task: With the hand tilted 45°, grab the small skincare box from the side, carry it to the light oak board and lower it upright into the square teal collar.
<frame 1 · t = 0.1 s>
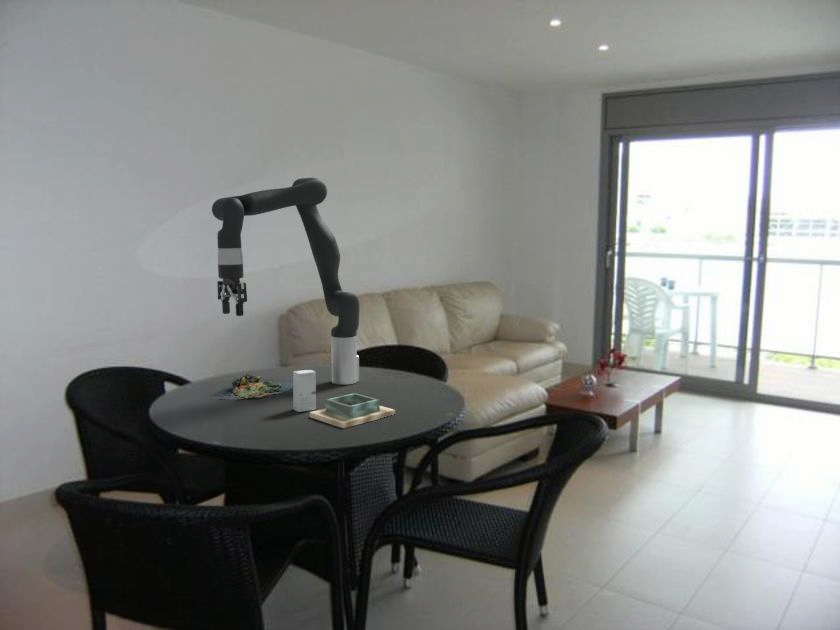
hand: (232, 314, 208), 29 cm above the table, tool pointing down, fingers open, 8 cm apart
skincare box: (304, 410, 207), on the table
socket board: (352, 415, 200), on the table
plated dish: (255, 392, 231), on the table
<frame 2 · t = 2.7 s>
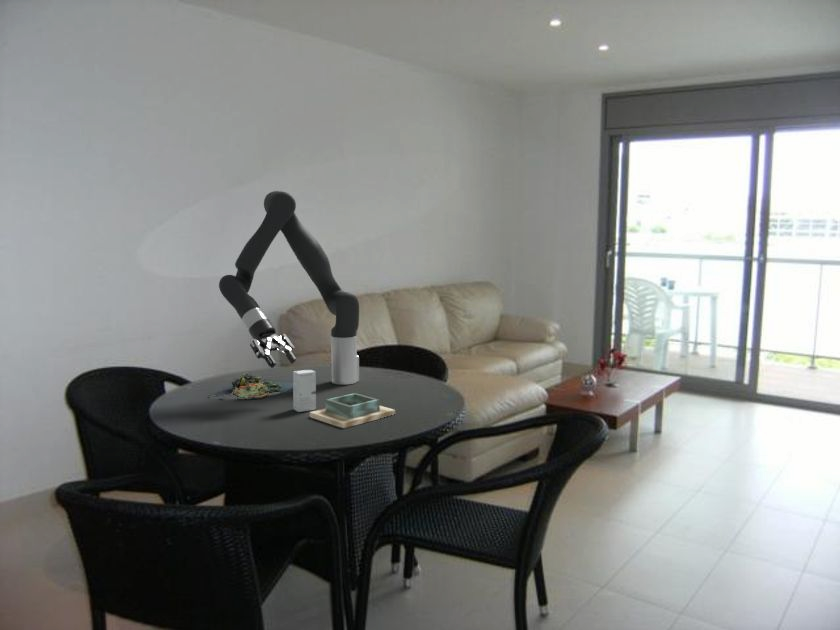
hand: (284, 364, 210), 13 cm above the table, tool tilted 45°, fingers open, 8 cm apart
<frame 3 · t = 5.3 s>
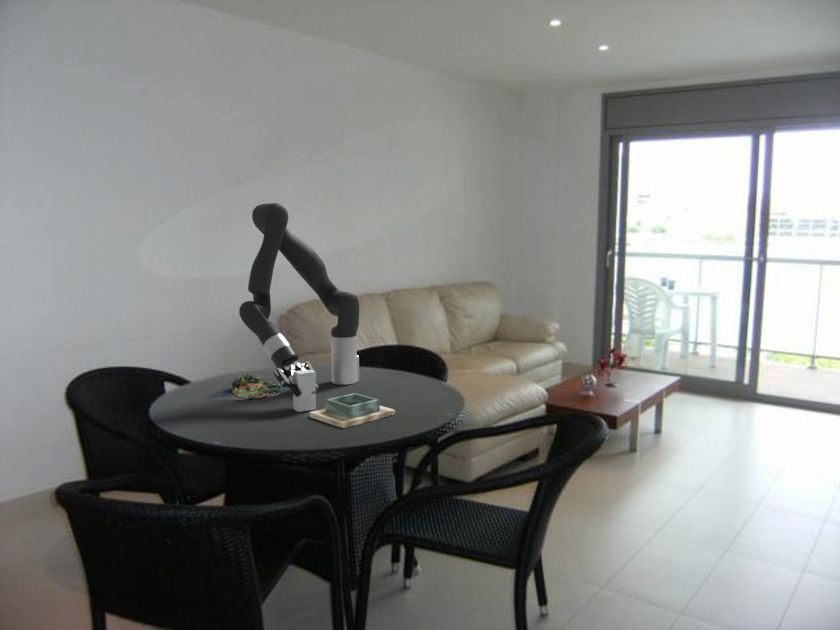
hand: (308, 392, 205), 5 cm above the table, tool tilted 45°, fingers closed on skincare box, 7 cm apart
skincare box: (304, 409, 207), on the table, touching gripper
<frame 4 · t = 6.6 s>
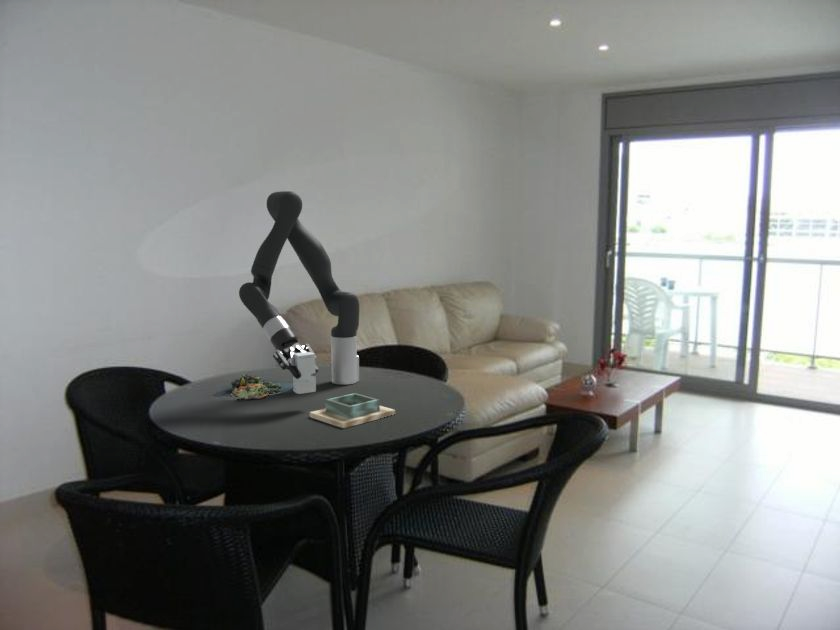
hand: (308, 374, 205), 11 cm above the table, tool tilted 45°, fingers closed on skincare box, 7 cm apart
skincare box: (304, 392, 207), point 5 cm above the table, touching gripper
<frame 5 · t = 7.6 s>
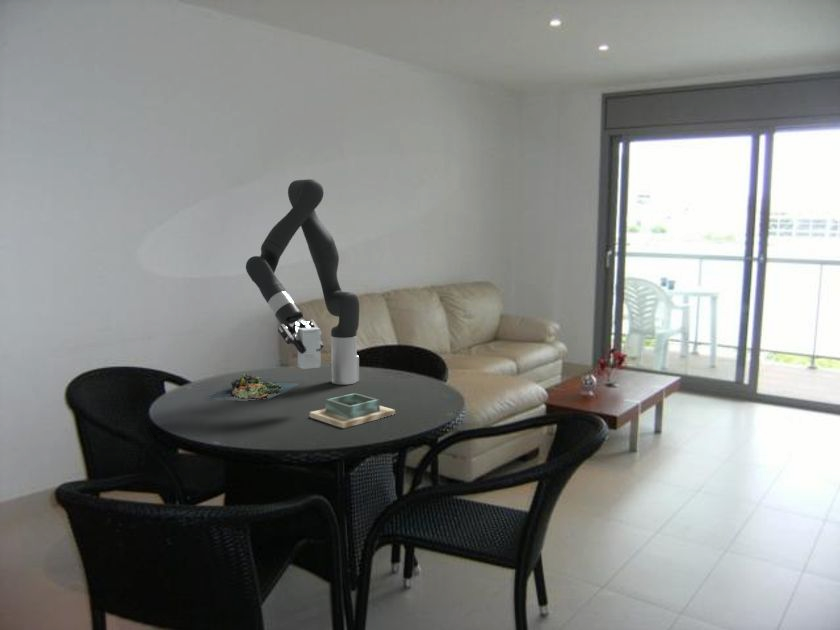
hand: (312, 350, 203), 19 cm above the table, tool tilted 45°, fingers closed on skincare box, 7 cm apart
skincare box: (309, 367, 204), point 13 cm above the table, touching gripper
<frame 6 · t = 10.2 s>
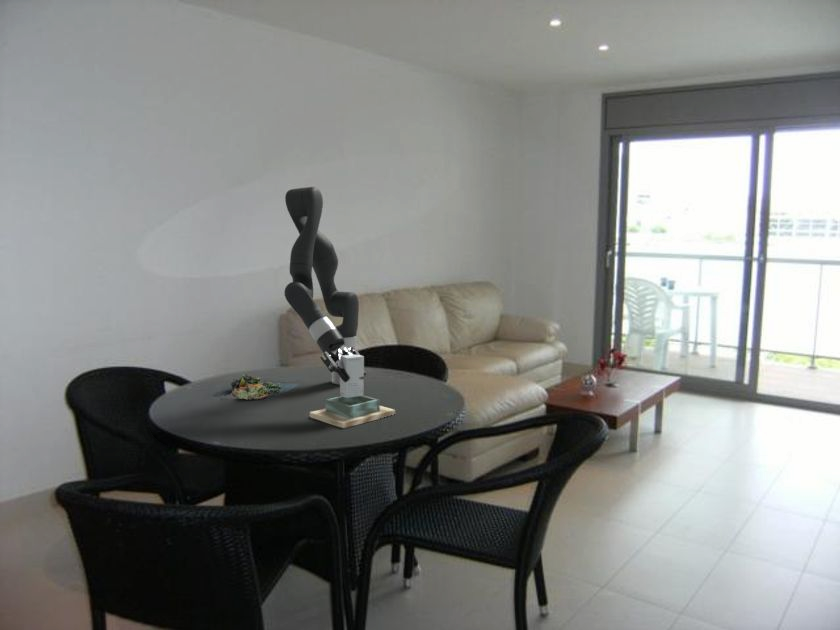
hand: (355, 378, 198), 12 cm above the table, tool tilted 45°, fingers closed on skincare box, 7 cm apart
skincare box: (351, 396, 199), point 6 cm above the table, touching gripper
when the fingers open (9 cm above the table, at t = 11.9 s): skincare box drops 2 cm, resting on socket board.
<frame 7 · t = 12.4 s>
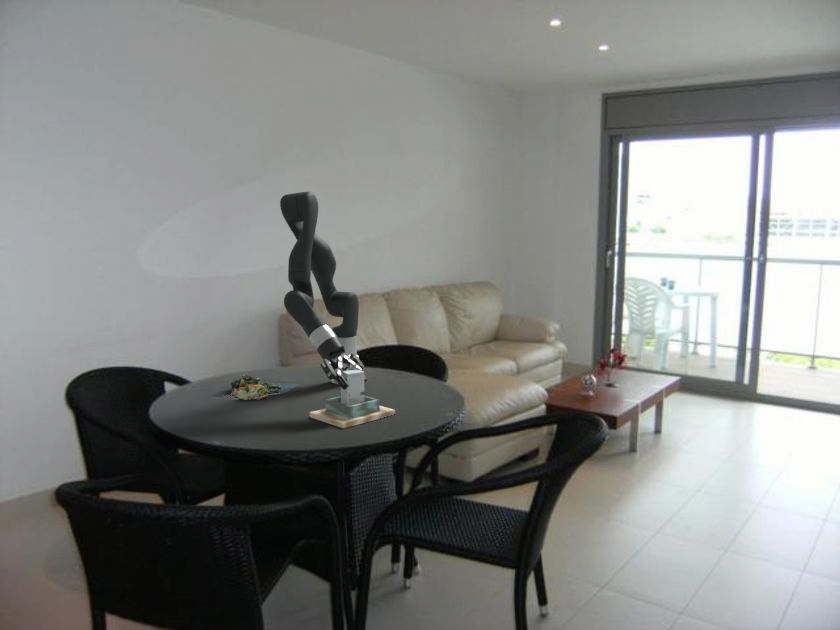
hand: (355, 385, 198), 10 cm above the table, tool tilted 45°, fingers open, 8 cm apart
skincare box: (352, 411, 200), point 1 cm above the table, touching gripper, socket board
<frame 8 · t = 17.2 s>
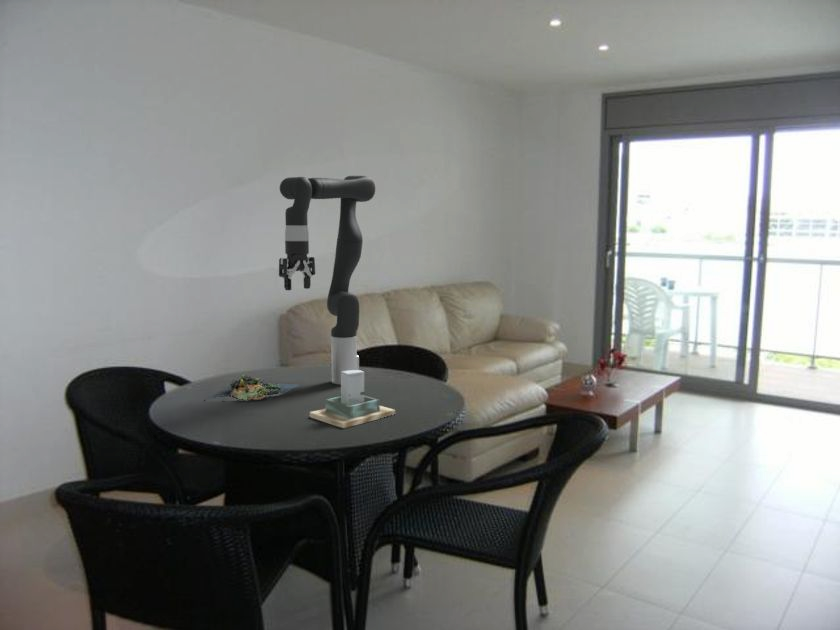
hand: (297, 289, 218), 36 cm above the table, tool pointing down, fingers open, 8 cm apart
skincare box: (352, 411, 200), point 1 cm above the table, touching socket board
at the end: skincare box 0.4 cm off-centre on the socket board, point 1.3 cm above the socket board's base; skincare box tilted 0°; the gripper is holding nothing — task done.
